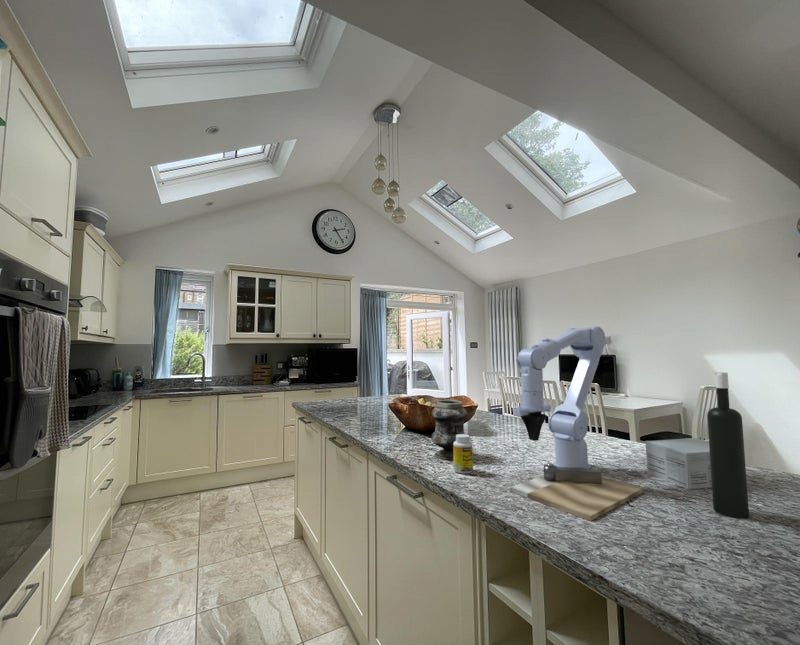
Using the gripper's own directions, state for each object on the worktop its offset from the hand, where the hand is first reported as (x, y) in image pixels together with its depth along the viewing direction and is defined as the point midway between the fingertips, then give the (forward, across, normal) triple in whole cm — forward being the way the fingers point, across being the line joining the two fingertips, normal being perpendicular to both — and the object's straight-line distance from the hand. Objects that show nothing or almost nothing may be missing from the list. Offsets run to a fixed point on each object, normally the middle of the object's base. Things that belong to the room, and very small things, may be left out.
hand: (533, 439), depth 104 cm
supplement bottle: (+10, -13, +15) cm, 22 cm away
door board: (+10, -2, -13) cm, 16 cm away
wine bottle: (+10, +13, -39) cm, 42 cm away
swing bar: (+9, +1, -10) cm, 13 cm away
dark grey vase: (+10, -5, +29) cm, 31 cm away
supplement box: (+10, +33, -27) cm, 44 cm away
